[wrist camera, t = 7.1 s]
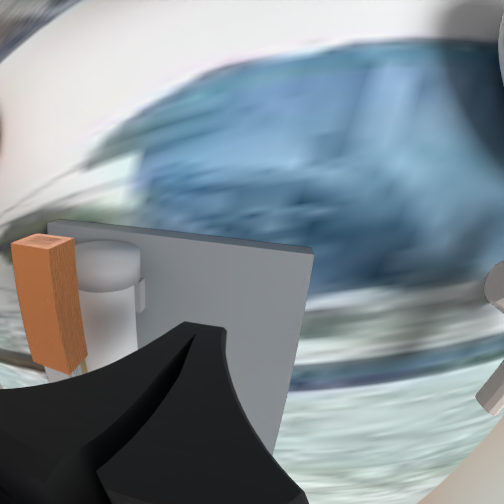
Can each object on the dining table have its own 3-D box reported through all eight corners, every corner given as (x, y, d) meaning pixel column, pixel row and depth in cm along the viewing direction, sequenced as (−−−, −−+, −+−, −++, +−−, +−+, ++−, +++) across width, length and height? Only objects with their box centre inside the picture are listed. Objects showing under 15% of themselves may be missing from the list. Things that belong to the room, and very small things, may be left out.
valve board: (265, 474, 20) (259, 540, 14) (96, 436, 21) (65, 488, 15) (311, 247, 15) (331, 302, 9) (59, 219, 16) (-19, 246, 10)
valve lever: (121, 460, 12) (109, 484, 11) (80, 446, 12) (67, 468, 11) (81, 238, 9) (49, 253, 8) (31, 232, 9) (-1, 244, 8)
